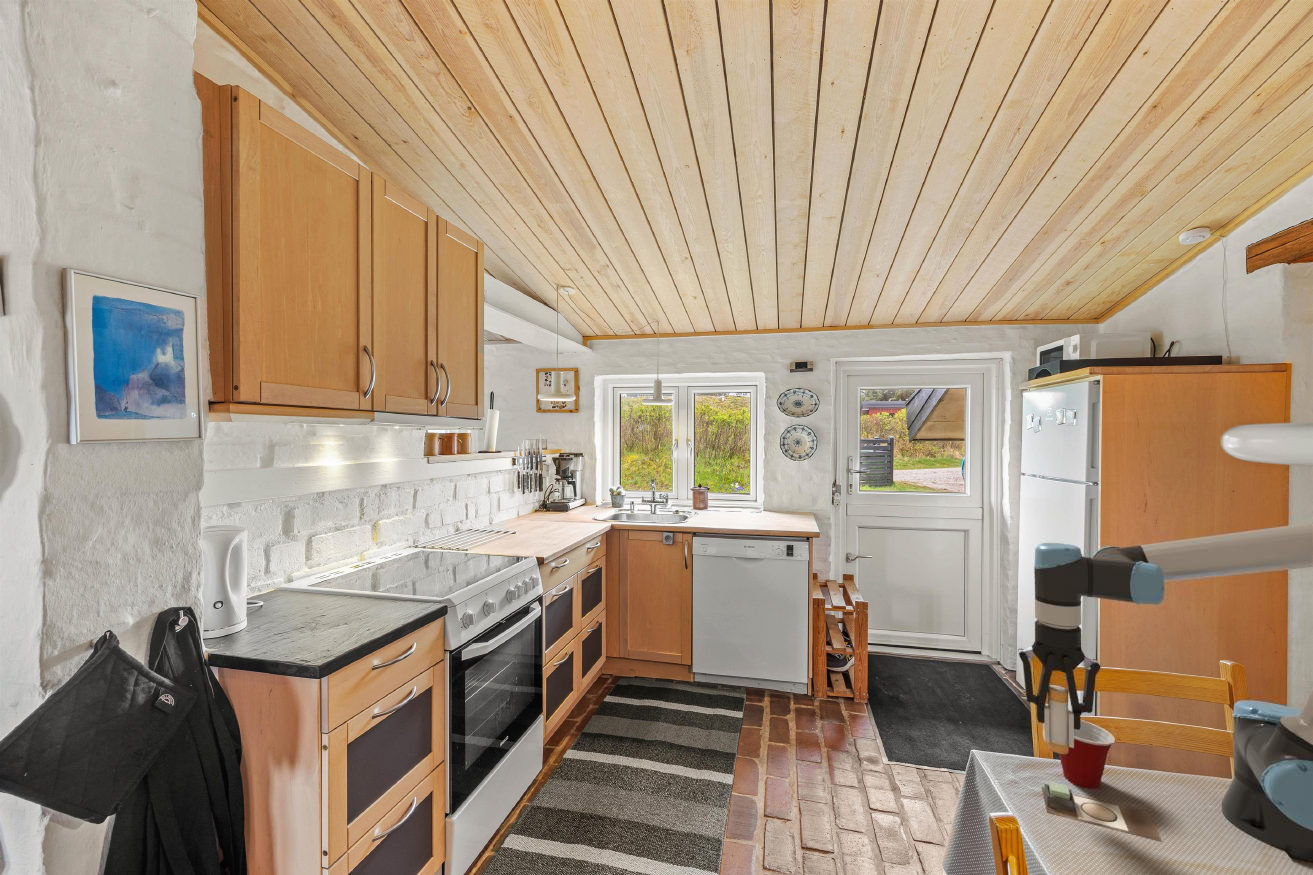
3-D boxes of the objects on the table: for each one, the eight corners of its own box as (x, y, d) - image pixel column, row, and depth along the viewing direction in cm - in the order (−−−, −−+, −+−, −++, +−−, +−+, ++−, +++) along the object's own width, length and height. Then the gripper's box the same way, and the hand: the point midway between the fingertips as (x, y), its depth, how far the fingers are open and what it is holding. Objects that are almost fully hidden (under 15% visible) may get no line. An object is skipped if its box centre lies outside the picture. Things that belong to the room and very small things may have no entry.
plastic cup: (1128, 803, 113) (1127, 743, 113) (1067, 797, 115) (1066, 738, 115) (1097, 772, 124) (1097, 717, 124) (1042, 766, 126) (1041, 712, 126)
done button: (1067, 795, 112) (1067, 785, 112) (1069, 804, 110) (1069, 794, 110) (1049, 791, 114) (1049, 781, 114) (1051, 799, 111) (1051, 789, 111)
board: (1147, 817, 109) (1147, 801, 109) (1162, 847, 101) (1162, 830, 101) (1041, 791, 117) (1041, 777, 117) (1047, 817, 109) (1047, 801, 109)
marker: (1067, 747, 113) (1066, 687, 113) (1069, 755, 110) (1069, 693, 110) (1046, 743, 114) (1046, 683, 114) (1049, 751, 111) (1048, 690, 111)
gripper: (1105, 623, 111) (1105, 742, 111) (1007, 611, 119) (1008, 723, 119) (1114, 635, 105) (1114, 762, 105) (1010, 622, 113) (1011, 740, 113)
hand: (1058, 741), depth 112 cm, fingers closed on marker, 3 cm apart
